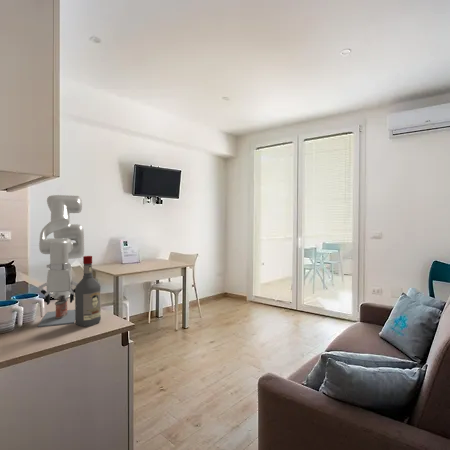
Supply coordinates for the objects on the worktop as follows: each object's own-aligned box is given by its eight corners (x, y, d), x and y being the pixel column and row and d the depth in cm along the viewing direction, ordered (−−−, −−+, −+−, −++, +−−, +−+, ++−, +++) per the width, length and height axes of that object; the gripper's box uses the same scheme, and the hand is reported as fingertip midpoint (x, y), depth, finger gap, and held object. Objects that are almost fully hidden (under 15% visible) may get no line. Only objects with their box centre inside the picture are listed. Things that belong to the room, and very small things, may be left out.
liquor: (72, 324, 139) (71, 256, 138) (90, 318, 147) (89, 254, 146) (86, 327, 135) (85, 258, 134) (103, 321, 143) (103, 255, 142)
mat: (47, 313, 154) (47, 311, 154) (78, 310, 159) (78, 309, 159) (38, 327, 135) (38, 325, 135) (73, 323, 140) (73, 322, 140)
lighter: (62, 313, 151) (62, 293, 151) (69, 313, 151) (69, 293, 151) (53, 319, 143) (53, 297, 143) (60, 319, 143) (60, 297, 143)
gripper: (36, 269, 140) (37, 307, 141) (78, 267, 146) (79, 303, 147) (40, 266, 147) (40, 302, 148) (80, 264, 153) (80, 299, 154)
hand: (59, 302), depth 147 cm, fingers open, 9 cm apart
